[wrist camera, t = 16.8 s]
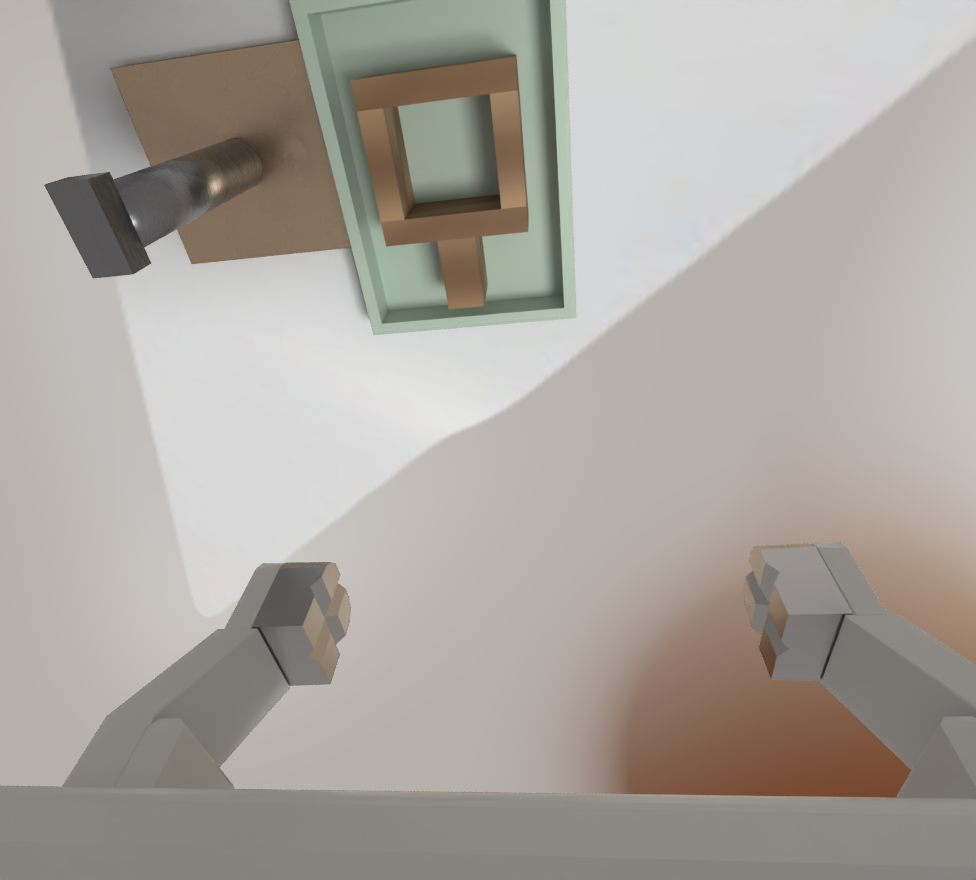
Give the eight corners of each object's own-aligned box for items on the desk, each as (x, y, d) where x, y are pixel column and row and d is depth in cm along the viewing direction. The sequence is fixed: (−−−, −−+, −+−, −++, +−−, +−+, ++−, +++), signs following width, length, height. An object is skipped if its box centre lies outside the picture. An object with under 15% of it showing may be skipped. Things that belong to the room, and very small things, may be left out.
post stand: (120, 67, 36) (-130, 89, 22) (304, 39, 34) (156, 45, 21) (198, 259, 43) (43, 364, 29) (354, 243, 41) (267, 345, 28)
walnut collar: (367, 75, 35) (350, 80, 31) (516, 54, 34) (514, 57, 30) (410, 291, 42) (400, 313, 39) (533, 280, 41) (533, 301, 38)
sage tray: (306, 0, 33) (288, -3, 31) (561, -41, 31) (563, -47, 29) (382, 318, 44) (373, 335, 42) (574, 301, 43) (576, 317, 40)
